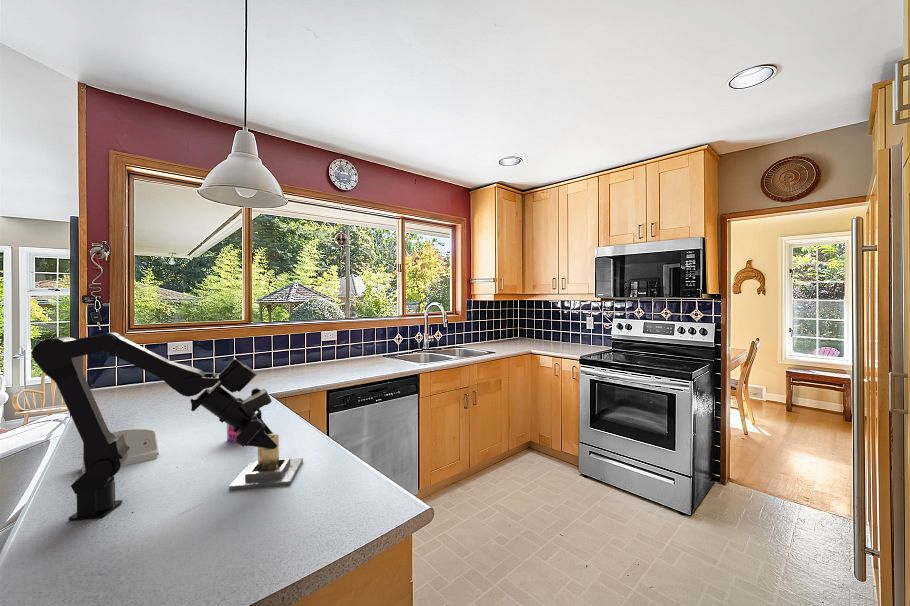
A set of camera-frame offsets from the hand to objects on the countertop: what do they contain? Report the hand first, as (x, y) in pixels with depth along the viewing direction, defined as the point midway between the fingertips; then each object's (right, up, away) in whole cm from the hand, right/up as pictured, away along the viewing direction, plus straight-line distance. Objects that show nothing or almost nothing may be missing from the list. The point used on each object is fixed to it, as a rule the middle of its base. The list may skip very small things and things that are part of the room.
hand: (274, 441), depth 102 cm
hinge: (-48, -9, +9) cm, 50 cm away
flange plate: (-1, -9, -1) cm, 9 cm away
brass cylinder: (-1, -8, -1) cm, 8 cm away
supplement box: (-24, -9, +26) cm, 36 cm away
